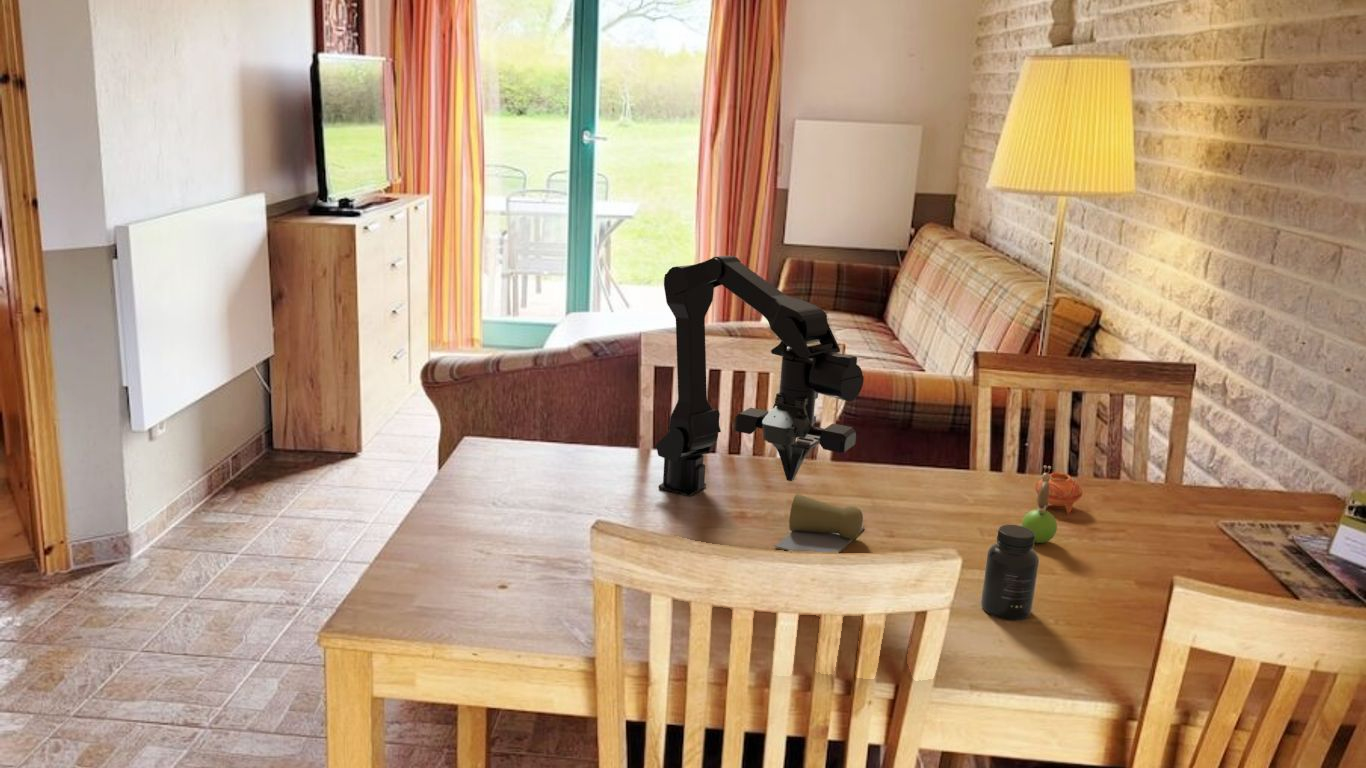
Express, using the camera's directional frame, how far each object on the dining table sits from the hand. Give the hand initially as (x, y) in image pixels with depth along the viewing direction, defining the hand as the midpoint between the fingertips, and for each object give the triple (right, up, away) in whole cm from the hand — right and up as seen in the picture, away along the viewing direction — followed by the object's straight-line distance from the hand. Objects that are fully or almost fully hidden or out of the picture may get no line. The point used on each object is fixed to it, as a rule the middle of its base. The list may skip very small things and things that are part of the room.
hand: (790, 480), depth 172 cm
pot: (+49, -7, +19) cm, 53 cm away
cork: (+1, -5, +1) cm, 5 cm away
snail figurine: (+41, -10, +3) cm, 42 cm away
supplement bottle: (+28, -16, -22) cm, 39 cm away
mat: (+5, -9, -1) cm, 10 cm away
